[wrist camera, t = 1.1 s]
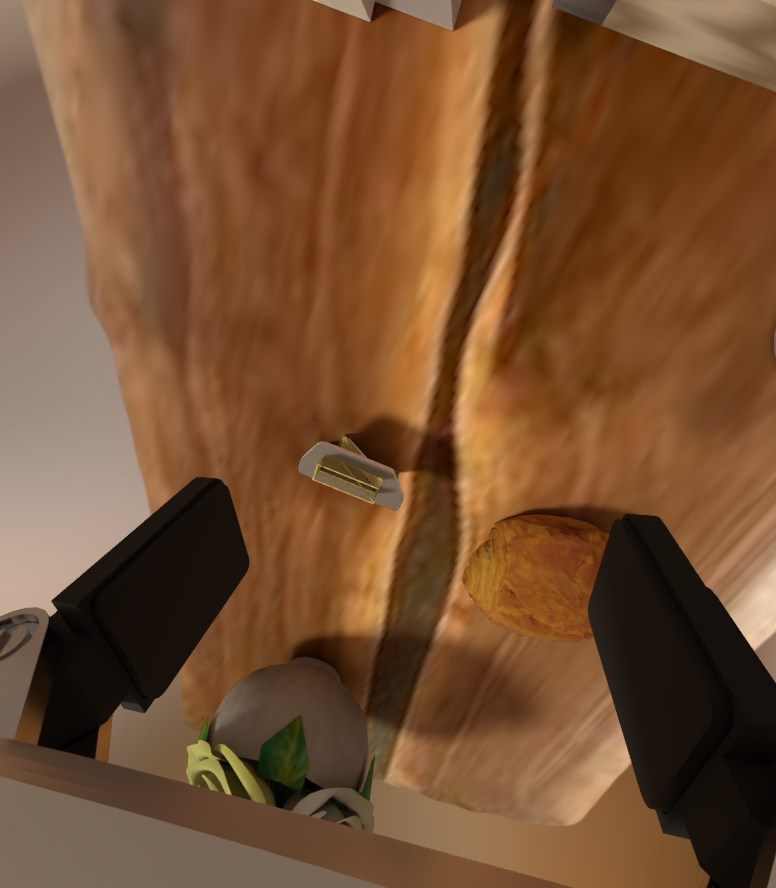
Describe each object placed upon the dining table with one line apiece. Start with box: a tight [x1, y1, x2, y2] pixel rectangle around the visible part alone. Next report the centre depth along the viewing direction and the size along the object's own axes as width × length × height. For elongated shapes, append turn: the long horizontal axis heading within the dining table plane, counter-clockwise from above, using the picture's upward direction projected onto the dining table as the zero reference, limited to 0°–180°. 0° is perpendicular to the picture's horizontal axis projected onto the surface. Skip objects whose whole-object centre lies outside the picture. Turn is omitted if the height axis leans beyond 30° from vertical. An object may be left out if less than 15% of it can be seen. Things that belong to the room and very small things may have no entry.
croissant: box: [462, 514, 609, 642], centre depth 37 cm, size 14×16×8 cm
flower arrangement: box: [186, 657, 375, 833], centre depth 47 cm, size 25×25×24 cm
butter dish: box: [298, 435, 404, 511], centre depth 35 cm, size 12×18×7 cm, turn 70°
